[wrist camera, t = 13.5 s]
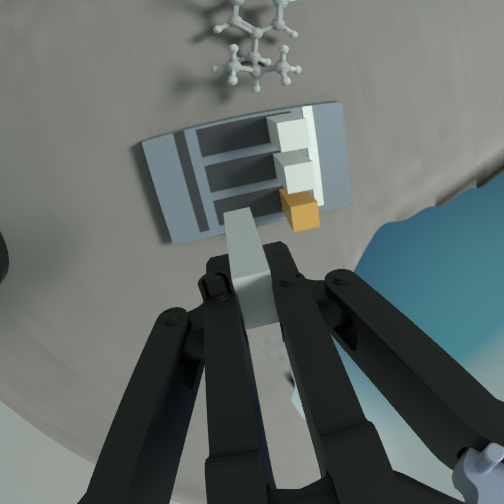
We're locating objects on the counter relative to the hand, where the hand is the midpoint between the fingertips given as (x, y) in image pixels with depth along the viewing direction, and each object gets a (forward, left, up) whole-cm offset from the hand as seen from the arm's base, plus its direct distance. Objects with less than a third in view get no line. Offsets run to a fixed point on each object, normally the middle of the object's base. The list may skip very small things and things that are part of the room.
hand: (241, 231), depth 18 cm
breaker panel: (+3, -3, -22) cm, 23 cm away
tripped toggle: (+7, -7, -20) cm, 22 cm away
